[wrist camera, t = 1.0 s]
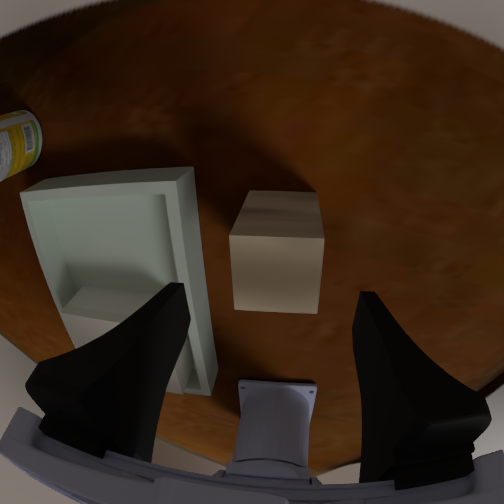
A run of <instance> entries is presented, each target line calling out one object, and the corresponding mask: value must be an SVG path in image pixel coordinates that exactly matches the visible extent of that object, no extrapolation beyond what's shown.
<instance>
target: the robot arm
mask: <svg viewBox="0 0 504 504" xmlns="http://www.w3.org/2000/svg"><path fill="white" fill-rule="evenodd" d="M190 322H191V316H190V311H189V307H188V302H187V297H186V292H185V286H184V283H177V282H170V283H169V284H167V285H166V286H165V287H164V288H163V289H161V290H160V291H159V292H158V293H157V294H156V295H154V296H153V297H152V298H151V299H150V300H149V301H147V302H146V303H145V304H144V305H143V306H142V307H140V308H139V309H138V310H137V311H135V312H134V313H133V314H132V315H130V316H129V317H128V318H126V319H125V320H124V321H123V322H121V323H120V324H118V325H117V326H116V327H114V328H113V329H111V330H109V331H108V332H106V333H105V334H103V335H101V336H100V337H98V338H96V339H94V340H92V341H90V342H89V343H87V344H85V345H83V346H81V347H79V348H76V349H74V350H72V351H70V352H67V353H65V354H62V355H59V356H56V357H53V358H50V359H47V360H44V361H41V362H39V363H38V365H37V366H36V368H35V369H34V371H33V372H32V374H31V375H30V377H29V379H28V380H27V382H26V384H25V387H26V390H27V392H28V394H29V395H30V396H31V398H32V399H33V400H34V401H35V403H36V404H37V405H38V406H39V407H40V408H41V410H42V411H43V412H44V413H45V416H44V417H43V419H42V418H40V417H39V416H37V415H36V414H34V413H31V412H30V411H27V410H25V409H23V408H21V407H19V408H18V410H17V411H16V413H15V415H14V416H13V418H12V420H11V422H10V423H9V425H8V427H7V429H6V431H5V432H4V434H3V436H2V438H1V440H0V454H1V455H3V456H4V457H5V458H6V459H8V460H9V461H10V462H11V463H13V464H14V465H15V466H17V467H18V468H19V469H21V470H22V471H23V472H25V473H26V474H28V475H29V476H31V477H32V478H34V479H36V480H38V481H39V482H41V483H43V484H45V485H46V486H48V487H50V488H52V489H54V490H55V491H57V492H59V493H61V494H63V495H65V496H67V497H69V498H71V499H73V500H75V501H77V502H79V503H81V504H504V453H503V450H499V451H496V452H492V453H489V454H485V455H482V456H479V457H477V458H475V459H474V460H473V459H472V454H471V453H473V452H474V450H475V447H474V444H473V442H474V441H475V440H476V439H477V438H478V437H479V436H480V435H481V434H482V433H483V432H484V431H485V430H486V429H487V427H488V426H489V425H490V422H491V420H492V418H491V414H490V411H489V407H488V404H487V402H486V399H485V397H484V396H483V395H481V394H479V393H477V392H476V391H474V390H472V389H470V388H469V387H467V386H465V385H464V384H462V383H461V382H459V381H458V380H456V379H455V378H454V377H452V376H451V375H449V374H448V373H447V372H446V371H444V370H443V369H442V368H441V367H439V366H438V365H437V364H436V363H435V362H434V361H432V360H431V359H430V358H429V357H428V356H427V355H426V354H425V353H424V352H423V351H422V350H421V349H420V348H419V347H418V346H417V345H416V344H415V343H414V342H413V341H412V340H411V338H410V337H409V336H408V335H407V334H406V333H405V331H404V330H403V329H402V328H401V326H400V325H399V324H398V322H397V321H396V320H395V319H394V317H393V316H392V315H391V313H390V312H389V311H388V309H387V308H386V306H385V305H384V304H383V302H382V301H381V299H380V298H379V297H378V295H377V294H376V293H375V292H370V291H360V294H359V299H358V304H357V309H356V313H355V318H354V322H353V326H352V336H353V351H354V357H355V363H356V369H357V375H358V381H359V387H360V393H361V403H362V448H361V466H360V477H359V483H354V484H330V485H329V484H328V485H322V483H321V482H320V481H319V480H318V479H317V477H310V468H307V464H308V441H309V424H310V419H311V415H312V410H313V406H314V401H315V396H316V391H317V385H316V384H308V383H285V382H268V381H255V380H239V382H238V390H239V399H240V409H241V417H240V422H239V428H238V433H237V438H236V443H235V448H234V453H233V458H232V462H228V463H227V468H226V471H225V470H219V471H218V472H217V473H215V474H214V475H213V476H209V475H203V474H197V473H192V472H187V471H182V470H178V469H173V468H169V467H164V466H160V465H156V464H152V463H151V460H152V453H153V446H154V440H155V435H156V430H157V425H158V420H159V416H160V411H161V407H162V403H163V399H164V396H165V392H166V388H167V385H168V383H169V380H170V377H171V375H172V372H173V370H174V368H175V365H176V363H177V360H178V358H179V355H180V353H181V350H182V348H183V345H184V343H185V340H186V337H187V334H188V330H189V326H190Z"/></svg>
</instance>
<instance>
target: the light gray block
mask: <svg viewBox="0 0 504 504" xmlns="http://www.w3.org/2000/svg"><path fill="white" fill-rule="evenodd" d="M154 295H156V294H149V293H139V292H129V291H120V290H110V289H101V288H93V287H84V286H83V287H82V288H81V289H80V290H79V291H78V292H77V293H76V295H75V296H74V297H73V298H72V299H71V300H70V301H69V303H68V304H67V305H66V306H65V307H64V308H63V310H62V311H61V312H60V313H61V315H62V318H63V320H64V322H65V324H66V327H67V329H68V331H69V333H70V335H71V337H72V340H73V342H74V344H75V346H76V348H79V347H81V346H83V345H85V344H87V343H89V342H90V341H92V340H94V339H96V338H98V337H100V336H101V335H103V334H105V333H106V332H108V331H109V330H111V329H113V328H114V327H116V326H117V325H118V324H120V323H121V322H123V321H124V320H125V319H126V318H128V317H129V316H130V315H132V314H133V313H134V312H135V311H137V310H138V309H139V308H140V307H142V306H143V305H144V304H145V303H146V302H147V301H149V300H150V299H151V298H152V297H153V296H154ZM193 364H194V360H193V355H192V351H191V346H190V342H189V337H188V334H187V337H186V340H185V343H184V345H183V348H182V350H181V353H180V355H179V358H178V360H177V363H176V365H175V368H174V370H173V372H172V375H171V377H170V380H169V383H168V385H167V388H166V392H171V393H177V394H183V393H184V390H185V387H186V384H187V381H188V378H189V376H190V373H191V370H192V367H193Z"/></svg>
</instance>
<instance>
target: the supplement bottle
mask: <svg viewBox="0 0 504 504" xmlns="http://www.w3.org/2000/svg"><path fill="white" fill-rule="evenodd" d="M41 148H42V131H41V127H40V124H39V122H38V120H37V119H36V117H35V116H34V115H33V114H32V113H30V112H29V111H25V110H20V111H15V112H11V113H8V114H4V115H0V181H2V180H4V179H6V178H8V177H10V176H12V175H14V174H16V173H18V172H20V171H23V170H25V169H27V168H29V167H30V166H32V165H33V164H34V163H35V162H36V161H37V159H38V157H39V155H40V152H41Z"/></svg>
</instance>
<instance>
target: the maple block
mask: <svg viewBox="0 0 504 504" xmlns="http://www.w3.org/2000/svg"><path fill="white" fill-rule="evenodd" d="M229 239H230V254H231V268H232V282H233V295H234V308H235V310H250V311H267V312H288V313H312V314H317V309H318V301H319V291H320V282H321V272H322V262H323V250H324V232H323V226H322V220H321V214H320V208H319V203H318V197H317V192H295V191H250V190H249V193H248V195H247V197H246V199H245V201H244V204H243V206H242V208H241V210H240V212H239V215H238V217H237V219H236V221H235V224H234V226H233V228H232V230H231V232H230V235H229Z"/></svg>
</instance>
